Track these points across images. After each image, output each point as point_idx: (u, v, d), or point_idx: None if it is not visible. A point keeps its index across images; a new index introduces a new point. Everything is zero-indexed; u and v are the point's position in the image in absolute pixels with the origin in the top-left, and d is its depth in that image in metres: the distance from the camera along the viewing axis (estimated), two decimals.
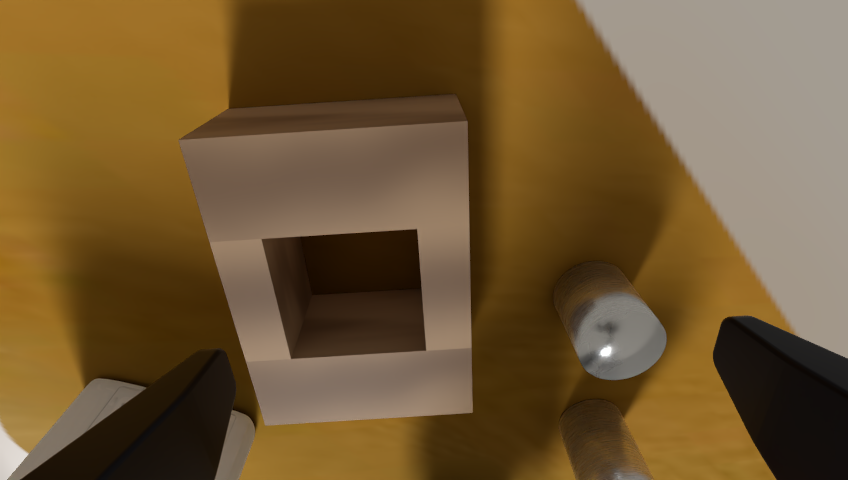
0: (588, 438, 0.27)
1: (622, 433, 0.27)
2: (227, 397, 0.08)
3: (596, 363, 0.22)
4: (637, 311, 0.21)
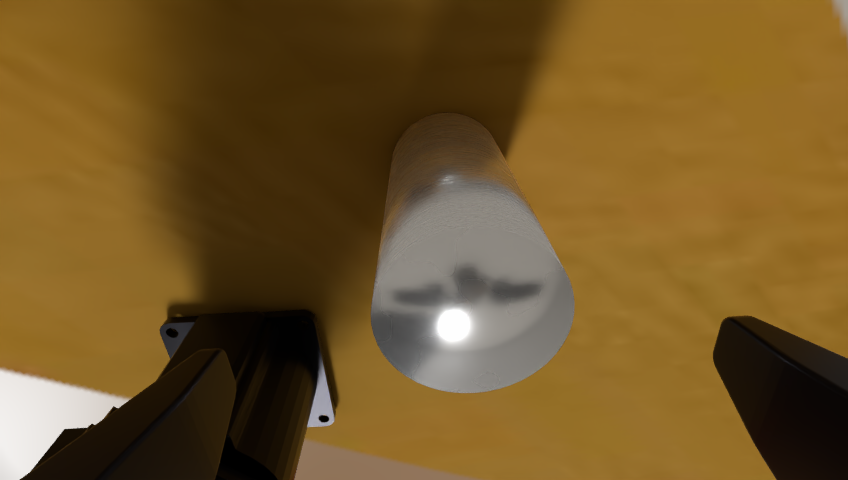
0: (412, 145, 0.14)
1: (478, 136, 0.14)
2: (227, 397, 0.08)
3: None
4: None
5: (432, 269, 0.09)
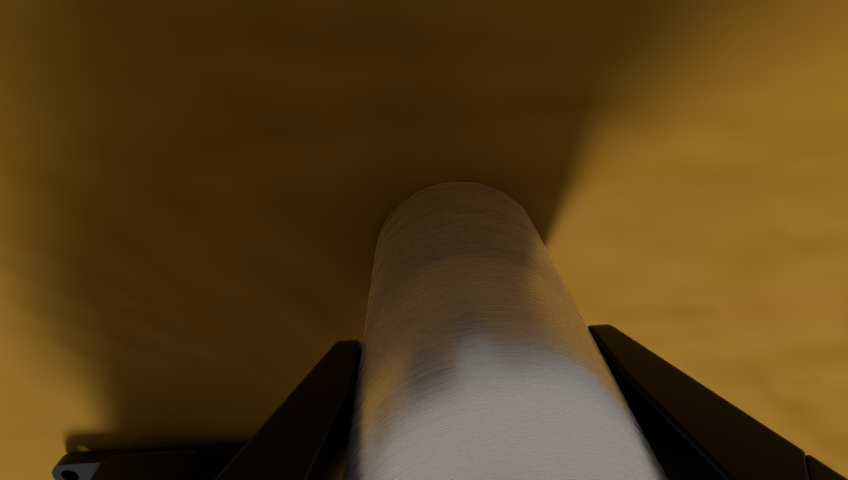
0: (405, 252, 0.09)
1: (515, 236, 0.09)
2: None
3: None
4: None
5: None
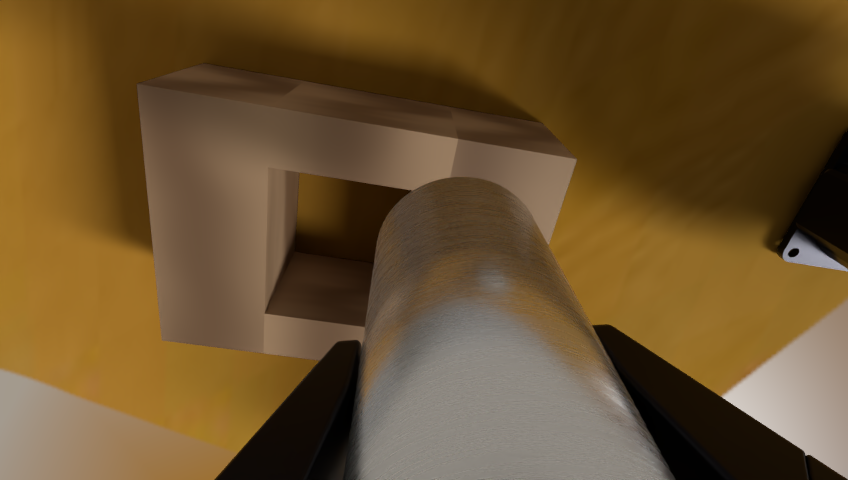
0: (406, 247, 0.09)
1: (517, 231, 0.09)
2: None
3: None
4: None
5: None
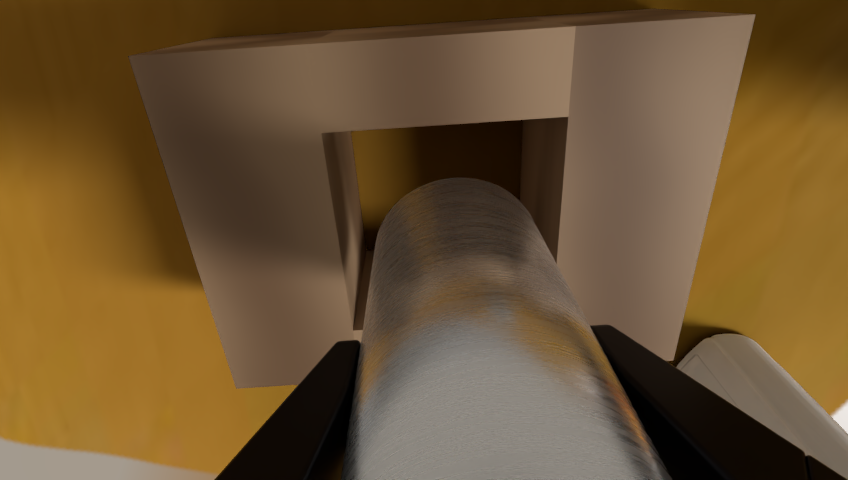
0: (405, 248, 0.09)
1: (515, 232, 0.09)
2: None
3: None
4: None
5: None
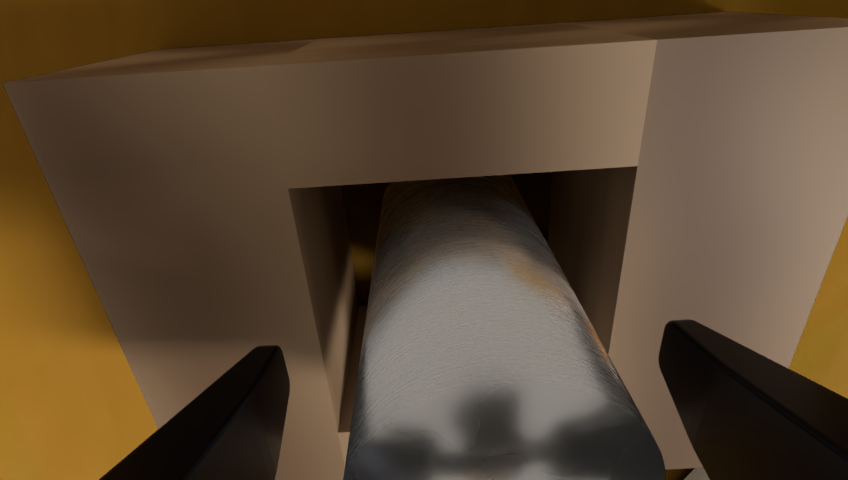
0: (407, 193, 0.11)
1: (494, 181, 0.11)
2: (284, 394, 0.08)
3: None
4: None
5: (439, 440, 0.05)
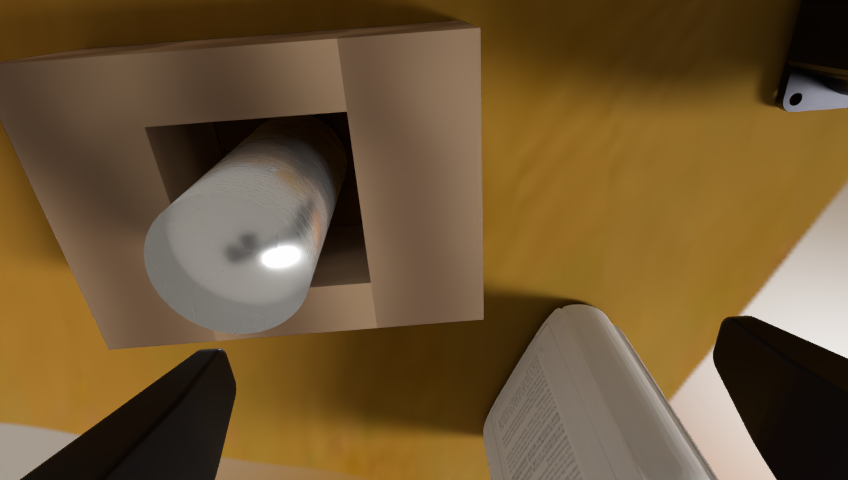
0: None
1: (301, 131, 0.17)
2: (227, 397, 0.08)
3: None
4: None
5: (185, 228, 0.11)
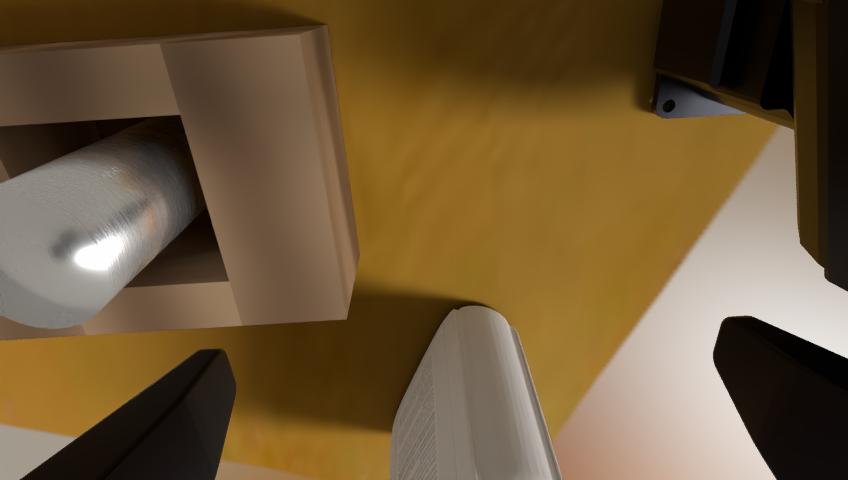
0: None
1: (162, 131, 0.17)
2: (227, 397, 0.08)
3: None
4: None
5: None
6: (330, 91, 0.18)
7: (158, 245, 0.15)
